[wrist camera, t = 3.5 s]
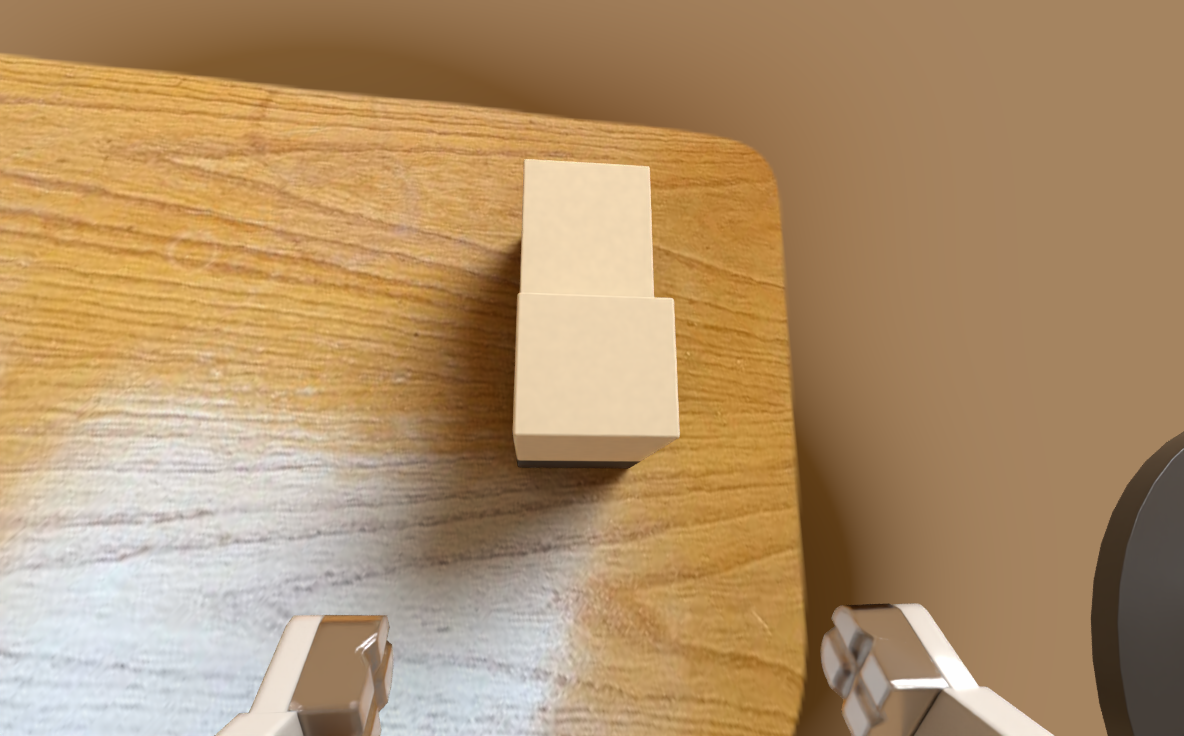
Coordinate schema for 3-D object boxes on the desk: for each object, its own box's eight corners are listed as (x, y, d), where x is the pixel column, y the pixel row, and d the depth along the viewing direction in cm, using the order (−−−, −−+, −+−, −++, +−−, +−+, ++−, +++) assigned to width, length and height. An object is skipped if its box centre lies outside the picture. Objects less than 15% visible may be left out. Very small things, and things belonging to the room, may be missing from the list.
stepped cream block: (625, 238, 26) (666, 115, 18) (630, 468, 23) (680, 438, 15) (524, 233, 25) (523, 106, 18) (517, 467, 23) (512, 436, 15)
